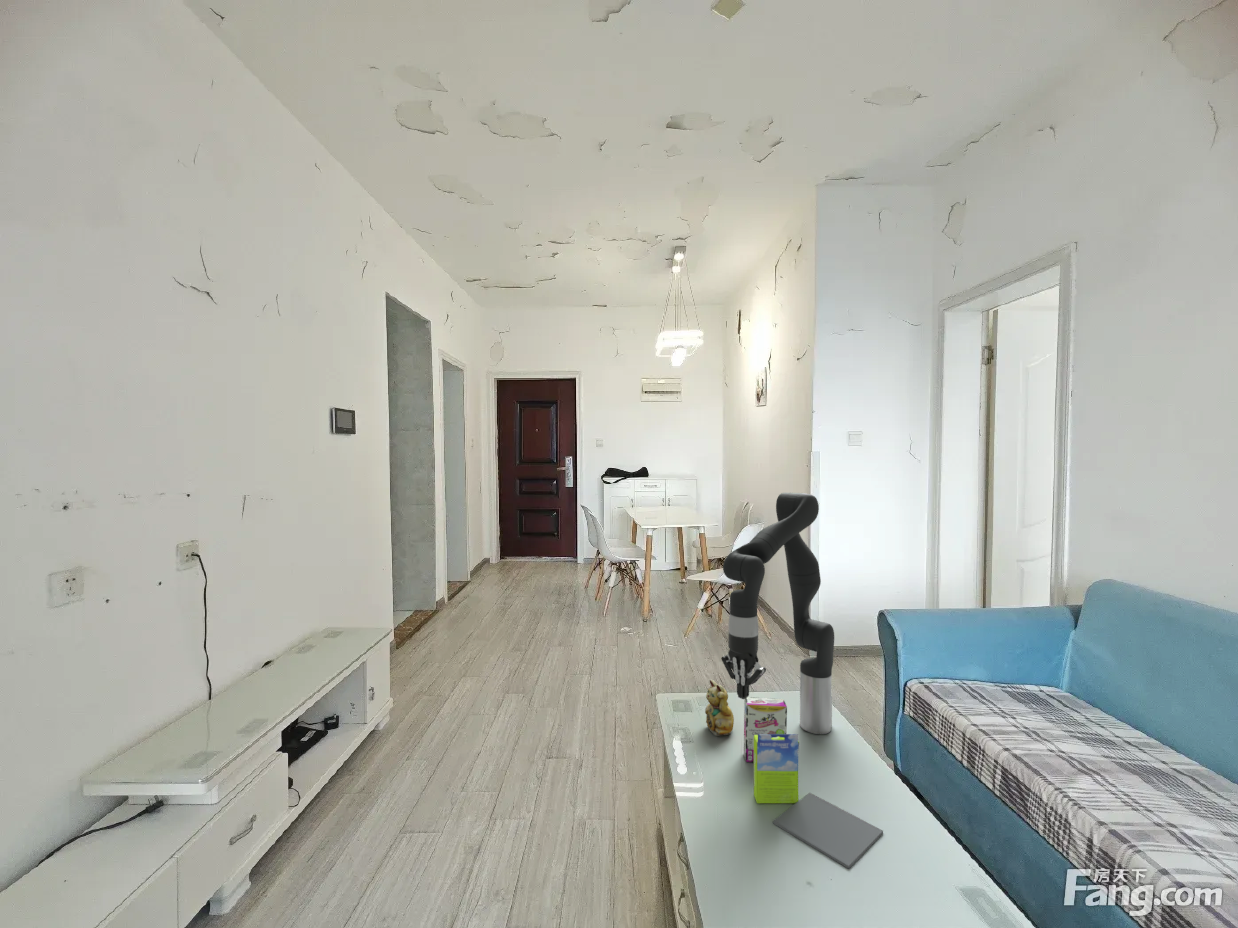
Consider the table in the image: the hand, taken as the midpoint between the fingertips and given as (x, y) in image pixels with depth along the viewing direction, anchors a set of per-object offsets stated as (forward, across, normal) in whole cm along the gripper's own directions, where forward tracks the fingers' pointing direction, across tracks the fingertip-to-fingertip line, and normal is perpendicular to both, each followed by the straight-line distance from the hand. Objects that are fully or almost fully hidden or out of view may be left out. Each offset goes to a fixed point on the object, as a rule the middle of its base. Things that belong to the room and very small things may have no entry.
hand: (742, 697), depth 140 cm
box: (+22, -10, 0) cm, 24 cm away
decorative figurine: (+22, +20, -16) cm, 34 cm away
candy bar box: (+22, +2, -13) cm, 26 cm away
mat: (+22, -24, 0) cm, 32 cm away
